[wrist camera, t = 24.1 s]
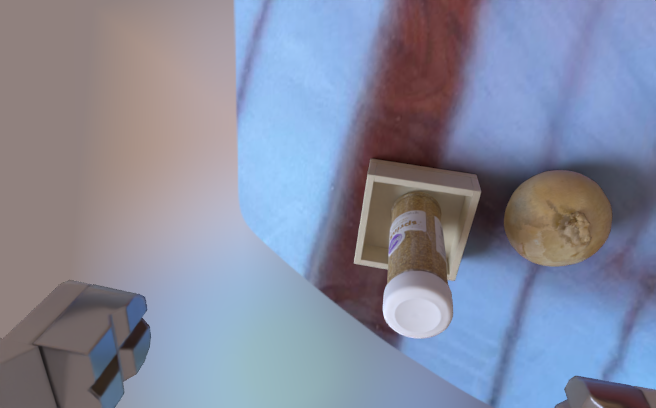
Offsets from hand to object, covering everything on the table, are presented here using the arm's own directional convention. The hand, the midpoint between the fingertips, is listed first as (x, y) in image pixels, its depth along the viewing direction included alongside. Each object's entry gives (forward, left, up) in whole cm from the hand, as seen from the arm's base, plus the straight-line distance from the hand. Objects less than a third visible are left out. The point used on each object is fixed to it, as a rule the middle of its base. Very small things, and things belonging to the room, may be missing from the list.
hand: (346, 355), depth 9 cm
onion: (+15, -11, -31) cm, 36 cm away
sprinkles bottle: (+4, -14, -30) cm, 34 cm away
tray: (+4, -14, -31) cm, 34 cm away
